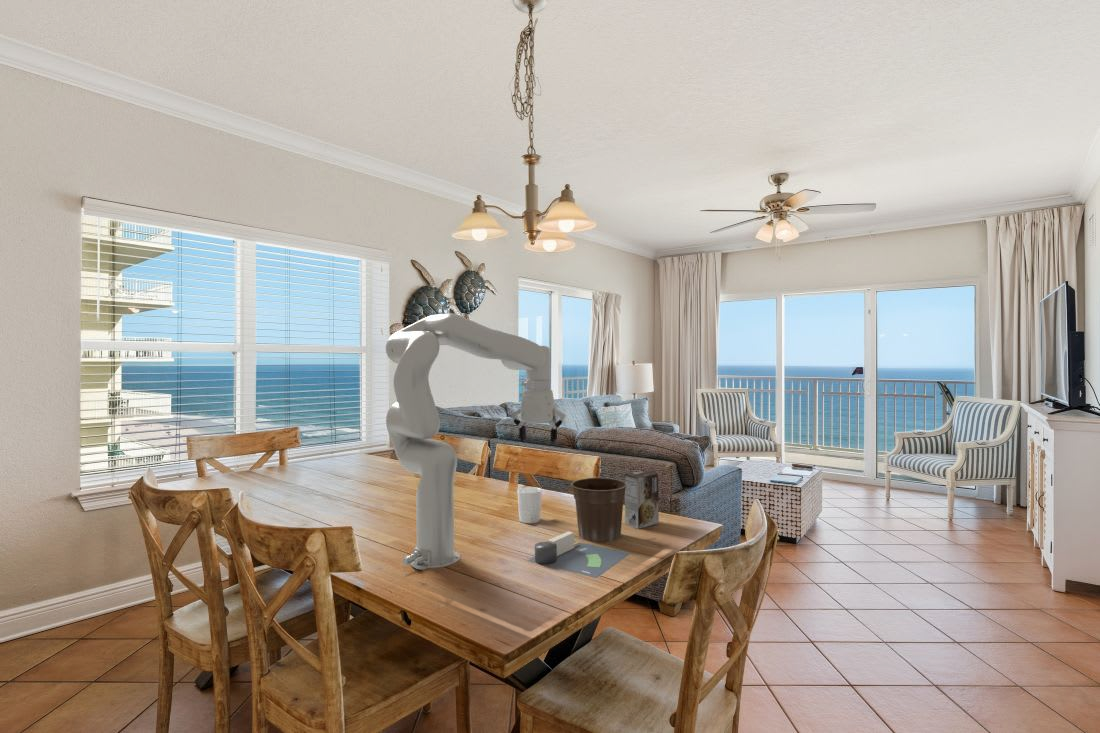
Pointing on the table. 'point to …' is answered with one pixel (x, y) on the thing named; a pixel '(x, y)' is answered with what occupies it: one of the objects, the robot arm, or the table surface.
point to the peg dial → (554, 548)
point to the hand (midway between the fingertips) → (538, 441)
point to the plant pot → (599, 508)
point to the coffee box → (641, 499)
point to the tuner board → (587, 559)
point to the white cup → (529, 504)
